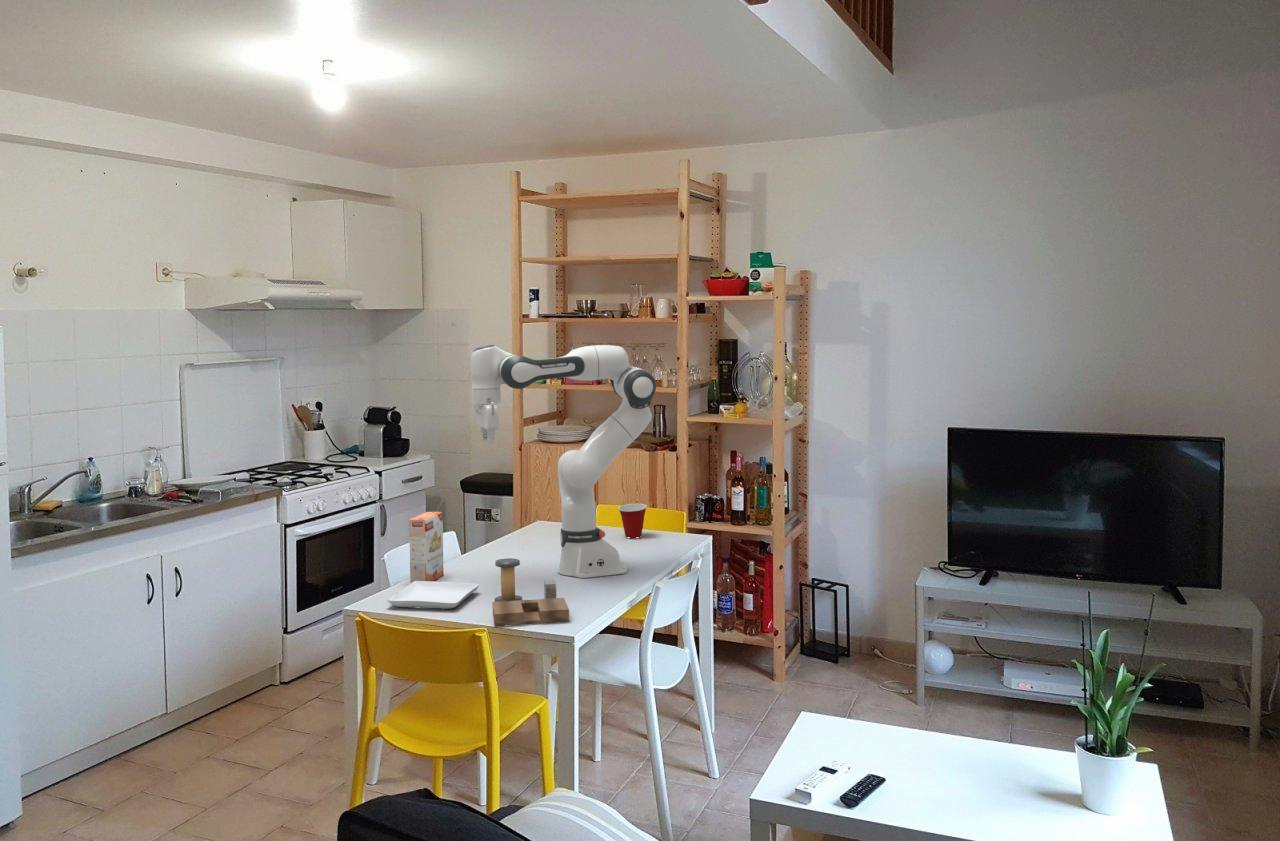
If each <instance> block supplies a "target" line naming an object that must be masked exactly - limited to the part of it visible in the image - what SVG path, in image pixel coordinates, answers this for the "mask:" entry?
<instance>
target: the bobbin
mask: <svg viewBox="0 0 1280 841" xmlns="http://www.w3.org/2000/svg"><path fill="white" fill-rule="evenodd" d="M494 561H495V562H494V565H495V567H497V568H500V588H501V589H500V593H501V595H499V596H496V597H495V598H494V602H502V601H518V600H523V596H520V595H517V594H516V578H515V577H516V573H515V572H516V570H515V568H516V567H518V566H520V565H521V561H520V559H517V558H511V557H510V558H508V557H507V558H500V559H497V560H494Z"/></svg>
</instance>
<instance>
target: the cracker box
mask: <svg viewBox="0 0 1280 841" xmlns="http://www.w3.org/2000/svg"><path fill="white" fill-rule="evenodd" d="M443 513H444V512H443V511H426V512H423V513H421V514H419V515H417V516H414V517H411V518H409V520H408V527H409V528H408V532H409V533H408V534H409V537H408V538H409V572H410V573H409V576H410V578H409V579H410V584H411V583H412V582H414V581H436V580H438V579H439V578H441V577H443V576H444V574H445V573H444V521H443V520H444V519H443V516H444V515H443Z"/></svg>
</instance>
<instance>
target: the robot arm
mask: <svg viewBox="0 0 1280 841" xmlns="http://www.w3.org/2000/svg"><path fill="white" fill-rule="evenodd" d="M470 377H471V379H472V384H471V403H472V405H473V408H474V416H475V422H476V425H477V426H479V427H480V431H481V439H482V440H483V441H487V444H489V445H494V444H495V436H496V431H498V430H499V428H500V421H499V420H500V418H499V408H498V404H501V403H502V399H501V398H502V396H501V395H502V394H501V386H502V385H507V386H508V387H510V388H512V389H516V390H519V389H520V390H521V389H525V388H527V387H529V386H530V385H532V384H534V383H536V382H538V381H546V380H553V379H555V380H556V379H561V378H563V379H565V378H566V379H570V380H576V381H601V380H609V381H610V384H611V387H612V390H614V392H615V394H616V395H617V396H618V397H620V398H622V402H621V403H620V406H619V407H618V408H617V410H616V411H614V412H613V413H612V414H611V415H610V416H609V417H607V419H606V420H604V421H603V422H602V423H601V424H600V425H599V426H598V427H597V428H596V429H595V430H594V431H593V432H592V433H591V434H590V436H589V438H588V439H587V440H586V441H585V443H583V445H582V446H581V447H580V449H571V450H568V451H566V452H564V453H563V454H562V455H560V457H559V459H558V462H557V475H558V485H559V486H558V487H559V497H560V505H561V528H560V536H559V538H560V547H561V553H560V559H559V560H560V561H559V565H558V569H557V573H559V574H560V575H563V576H568V577H575V578H580V579H587V578H596V577H605V576H613V575H621V574H622V575H623V574H626V573H627V572H628V566H627V565H626V564H625V563H623V562H622V561H621V557H620V554H619V551H618V550H617V549H616V548H615V547H614V546H612V545H611V544H610V542H609V543H608V541H605V540H604V539H603V538H605V536H606V532H605V531H604V530H602V529H601V528H599V527H597V514H596V513H597V512H596V511H597V510H596V508H597V507H596V505H597V503H596V500H595V499H596V498H595V494H594V487H593V486H594V485H596V484H597V482H598V481H599V478H601V476H602V475H603V474H604V473H605V472H606V470H608V468H609V467H610V466H611V464H612V462H614V461H615V460H616V458H617V457H618V456H619V455H621V453H622V452H624V451H625V450H626V449H627V448H628V447H629V446H630V445H631V444H632V443H633V442H634V441H635V440H636V439H637V438H638V437H639V436H640V435H641V434H642V433H643V432H644V430H645V429H646V428H647V427H648V425H649V424H650V423H651V421H652V419H653V414H652V411H651V408H650V407H649V406H650V405H651V403H652V400H653V398H654V395H655V394H656V390H657V383H656V378H655V377H654V376H653V374H652V373H651V372H649V371H647V370H645V369H643V368H640V367H636V366H632V365H631V364H630V361H629V355H628V353H627V350H625V348H623V347H622V346H620V345H612V344H596V345H595V344H594V345H587V346H582V347H578V348H574V349H571V350H570V351H569V352H568V353H567V354H565V355H563V356H559V357H554V358H552V357H551V358H543V359H532V358H529V357H527V356H524V355H516V354H512V353H510V352H508V351H506V350H503V349H501V348H500V347H498V346H497V345H495V344H489V345H483V346H479V347H476V348H474V350H473V351H472V352H471V358H470Z"/></svg>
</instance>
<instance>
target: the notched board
mask: <svg viewBox="0 0 1280 841" xmlns="http://www.w3.org/2000/svg"><path fill="white" fill-rule="evenodd" d="M491 605H492V619H493V618H494V619H493V625H494V627H495V628H498V626H501V627H506V626H505V625H516V626H522V625H521V624H531V625H541V623H546V624H558V623H557V622H561V623H570V608H569V606H568V604H567V602H566V599H565V598H564V597H556V598H550V599H544V598H537V599H534V598H533V599H522V600H518V601H502V602H495V601H492V604H491Z"/></svg>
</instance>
